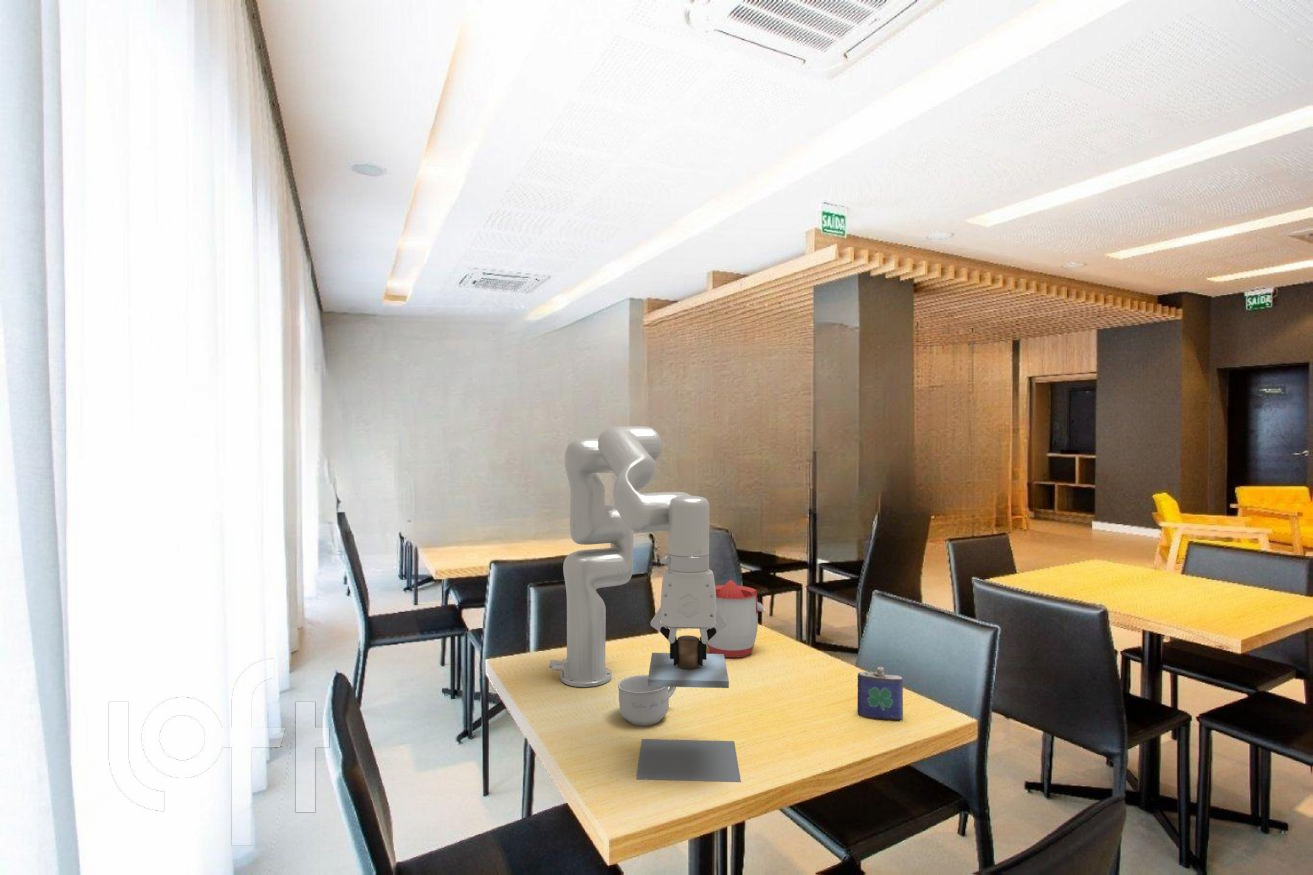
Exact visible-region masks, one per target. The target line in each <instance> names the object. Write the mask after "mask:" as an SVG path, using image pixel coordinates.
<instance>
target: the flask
mask: <svg viewBox="0 0 1313 875" xmlns="http://www.w3.org/2000/svg"><path fill="white" fill-rule="evenodd" d="M884 671H885V668H884V666H883V667H882V666H879V667H878V666H877V670H876V671H874V672H873V671H869V672H868V670H864V671H860V672H858V673H857V715H859V717H861V718H863V717H865V719H869V718H871V719H870V720H878V721H880V720H882V721H888V720H892V721H893V722H901V721H900V720H902V721H903V719H904V698H903V697H904V696H903V695H904V693H903V692H904V686H903V685H904V679H903V677H902V676H900V675H899V674H898V675H896V674H895V675H894V674H890V675H889V674H885V672H884ZM894 720H895V721H894ZM892 721H891V722H892Z"/></svg>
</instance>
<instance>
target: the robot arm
mask: <svg viewBox="0 0 1313 875" xmlns="http://www.w3.org/2000/svg"><path fill="white" fill-rule="evenodd" d="M661 439H662V438H661V437H660V435H659V432H657V431H656V430H655V429H654V428H652V427H650V426H645V425H643V426H641V425H614V426H610V427H607V428H606V429H604V430H602V431H601V433H600V434H599V436H598V437H583V438H577V439H574V440H572V441H571V442H569V443H568V445H567V446H566V449H565V452H564V468H565V473H566V477H567V479H568V484H569V485H568V486H569V490H570V491H569V493H570V495H569V497H570V498H569V500H570V502H569V532H570V533H569V534H570V537H571V539H572V541H573V542H574V543H576V544H577V545H582V546H583V545H586V546H588V545H591V546H592V545H603V544H610V547H605V548H591V549H581V550H577V551H574V552H571V553H569V554H568V555H567V556H566V557H565V559H564V561H563V566H562V568H563V570H562V571H563V578H564V584H565V592H566V658H563V659H561V660H559V659H550V660H549V665H548V666H549V669H552V671H555V672H556V671H561V672H560V681H561V682H562V683H563V684H565V685H567V686H571V687H576V688H577V687H578V688H591V687H597V686H600V685H601V686H602V685H604V684H606V683H608V682H609V681H611V679H612V677H613V674H612V671H611V669H609V668H608V667H606V619H607V618H606V614H607V613H606V610H607V609H606V604H605V602H604V600H603V598H602V597H601V596H600V595H599V594H598V591H597V589H600V588H607V587H616V586H622V585H625V584H627V583H629V582H630V580H631V578H632V575H633V571H634V570H633V569H634V532H635V533H640V534H641V533H642V534H645V533H655V532H656V533H657V532H668V534H667V537H668V540H667V542H668V544H667V546H668V549H667V550H668V551H667V553H668V554H667V555H665V556H660V560H659V561H660V565H664V566H666V567H667V569H665V570H664V571H663V577H662V581H661V592H660V607H659V608H658V610H657V611H656V613H655V615H654V616H653V618H652V619H651V620H650V626H651V627H652V628H653V629H655V630H656V631H657V632H660V634H662V636H664V638H665V639H666V640H667V641H668V643H669V653H670V659H674V665H677V663H678V643H677V638H678V636H677V631H678V629H699V634H700V636H699V665H700V666H703V660H706V654H707V647H708V645H707V643H708V641H709V640H710V639H711V638H712V637H713V636H714V635H715V634H716V633H717V632H719V631H721V630H722V629H724V628H725V627H726V622H725V621H724V619H723V618H722V616H721V614H720V613H719V611H718V610H717V608H716V589H715V586H716V583H715V575H714V572H713V570H712V569H710V502H709V501H708V499H707V498H706V497H703V496H698V495H691V494H689V493H687V492H683V491H668V492H667V491H662V492H661V491H660V492H659V491H658V492H657V491H656V492H639V491H640V490H642V489H644V488H645V487H646V486H649V485H648V484H650V483H651V482H652V481H653V479H654V478H655V476H656V473H657V464H656V461H657V460H658V459H659V458H660V456H661V453H662V450H663V447H662V446H663V444H662V440H661ZM598 473H599V474H603V473H604V474H605V473H606V474H610V473H611V474H612V473H613V474H614V475H615V477H616V479H615V482H614V486H613V491H612V492H613V493H612V494H613V495H612V496H613V502H614V504H605V497H606V495H605V494H606V491H605V490H606V489H605V486H604V483H603V482H602V480H601V478H600V477H599V475H598ZM716 622H717V623H716ZM707 628H709V629H708V630H707Z"/></svg>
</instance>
